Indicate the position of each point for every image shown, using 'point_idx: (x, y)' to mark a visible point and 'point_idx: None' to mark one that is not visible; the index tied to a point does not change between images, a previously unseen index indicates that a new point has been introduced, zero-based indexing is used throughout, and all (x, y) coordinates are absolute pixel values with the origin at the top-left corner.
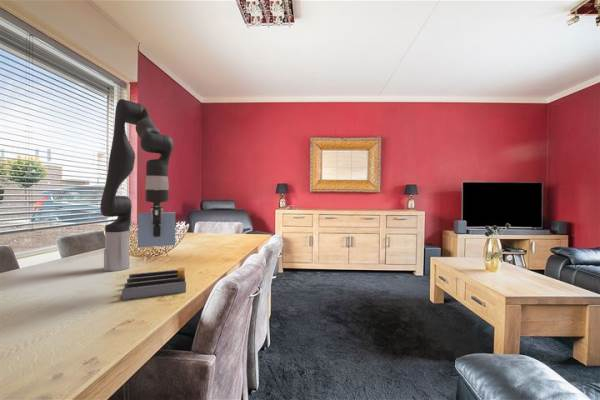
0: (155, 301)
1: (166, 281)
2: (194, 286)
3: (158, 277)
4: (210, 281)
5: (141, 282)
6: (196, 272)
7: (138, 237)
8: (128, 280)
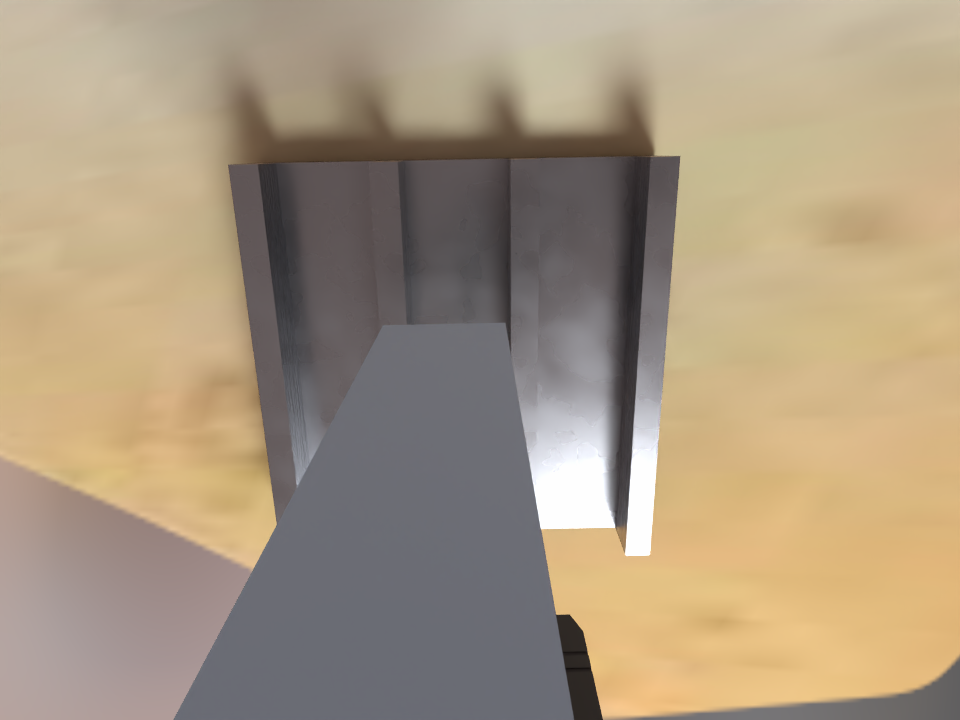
0: (197, 362)
1: None
2: None
3: None
4: None
5: (379, 281)
6: (732, 597)
7: (357, 380)
8: (510, 170)
